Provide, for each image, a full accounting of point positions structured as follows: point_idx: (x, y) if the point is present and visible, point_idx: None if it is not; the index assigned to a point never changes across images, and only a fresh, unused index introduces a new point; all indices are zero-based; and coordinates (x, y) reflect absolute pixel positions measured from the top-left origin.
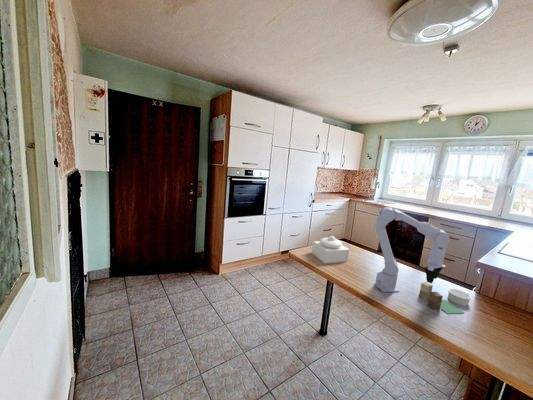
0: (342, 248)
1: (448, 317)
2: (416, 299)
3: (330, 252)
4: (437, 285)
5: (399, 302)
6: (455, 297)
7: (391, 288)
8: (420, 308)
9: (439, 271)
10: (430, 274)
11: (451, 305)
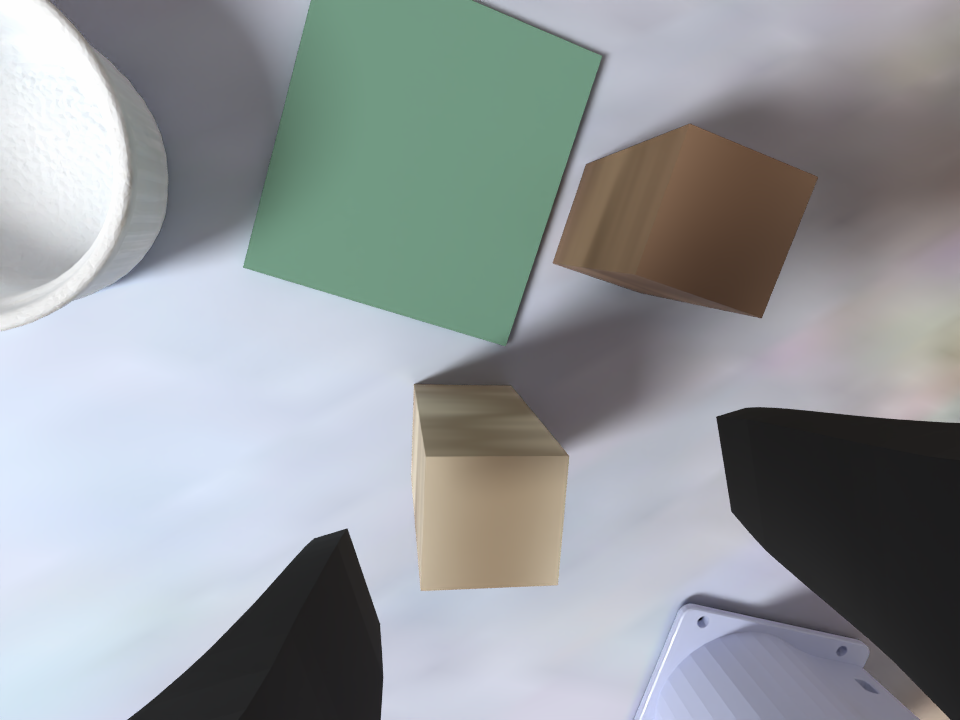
0: None
1: (668, 11)
2: (641, 421)
3: None
4: None
5: None
6: (136, 141)
7: (794, 656)
8: (794, 280)
9: (269, 686)
10: None
11: (320, 134)
